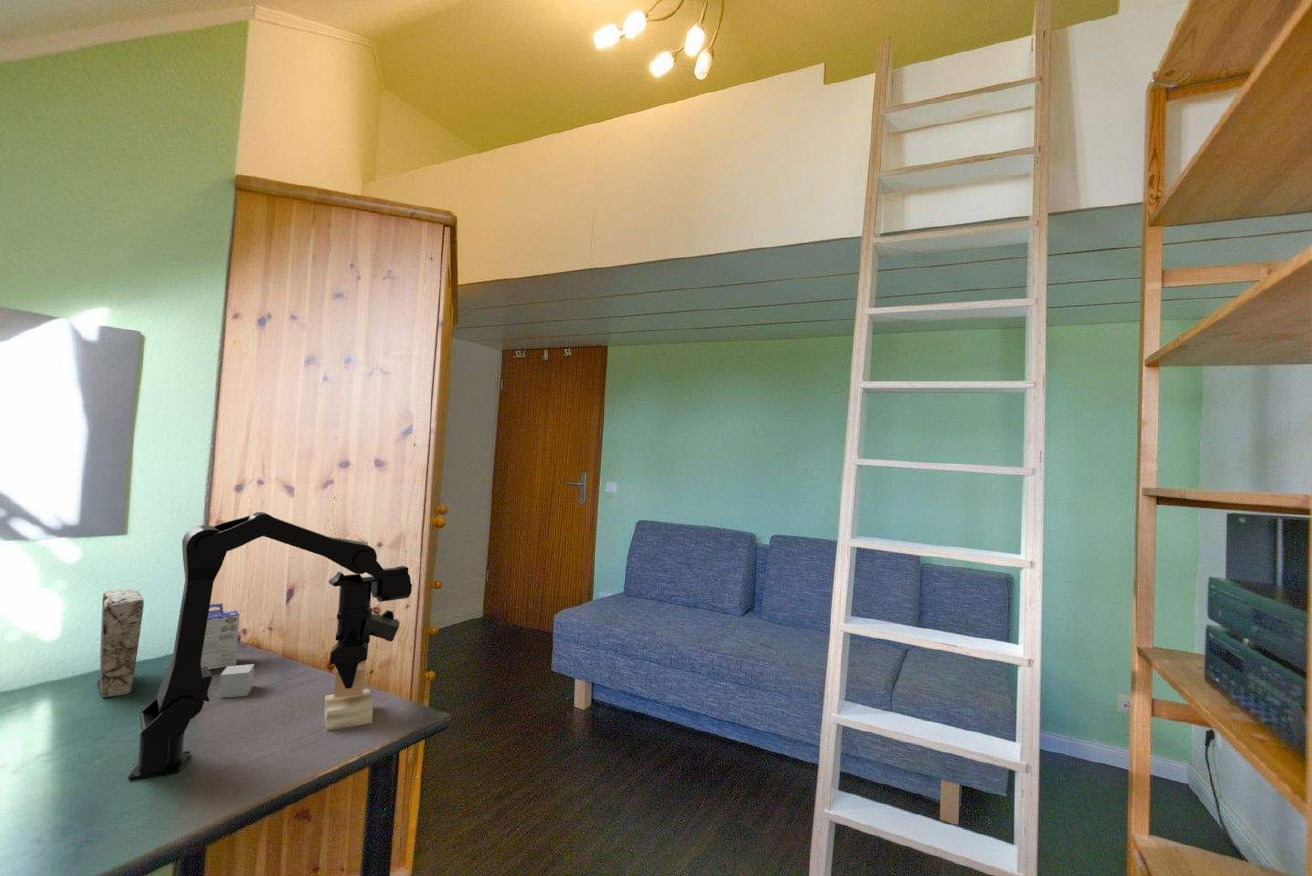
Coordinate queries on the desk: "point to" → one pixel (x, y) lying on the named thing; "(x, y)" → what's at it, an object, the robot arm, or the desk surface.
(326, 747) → the desk surface
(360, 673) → the tan cube
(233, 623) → the ink cartridge box
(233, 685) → the light grey cube
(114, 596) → the stone block
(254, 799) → the desk surface
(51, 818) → the desk surface
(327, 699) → the birch block
